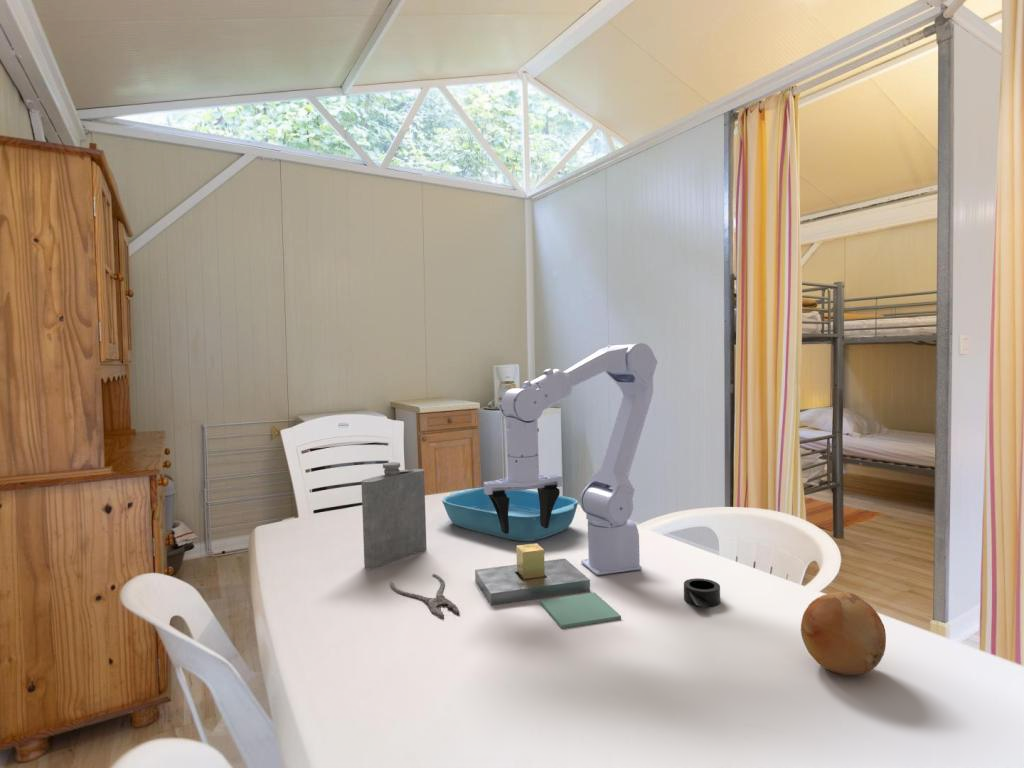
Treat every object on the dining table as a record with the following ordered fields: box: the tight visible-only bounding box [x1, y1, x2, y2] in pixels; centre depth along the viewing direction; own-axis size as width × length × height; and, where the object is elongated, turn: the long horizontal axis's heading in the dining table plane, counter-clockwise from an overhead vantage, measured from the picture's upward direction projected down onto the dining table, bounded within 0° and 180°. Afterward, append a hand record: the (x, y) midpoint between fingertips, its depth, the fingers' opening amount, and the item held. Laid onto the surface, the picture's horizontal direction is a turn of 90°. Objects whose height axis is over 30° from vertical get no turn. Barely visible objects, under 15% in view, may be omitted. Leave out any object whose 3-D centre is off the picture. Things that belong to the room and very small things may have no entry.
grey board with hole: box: [474, 558, 591, 606], centre depth 109 cm, size 18×12×2 cm, turn 106°
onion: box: [800, 591, 887, 676], centre depth 77 cm, size 10×10×10 cm
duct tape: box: [683, 577, 721, 610], centre depth 100 cm, size 8×10×3 cm
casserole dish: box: [441, 486, 579, 542], centre depth 148 cm, size 37×22×7 cm, turn 47°
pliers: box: [389, 573, 461, 620], centre depth 106 cm, size 10×1×20 cm
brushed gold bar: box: [515, 542, 545, 581], centre depth 109 cm, size 4×4×7 cm
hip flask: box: [360, 461, 427, 570], centre depth 126 cm, size 16×4×20 cm, turn 141°
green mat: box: [539, 592, 622, 629], centre depth 97 cm, size 10×10×1 cm
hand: (525, 529), depth 108 cm, fingers open, 7 cm apart
